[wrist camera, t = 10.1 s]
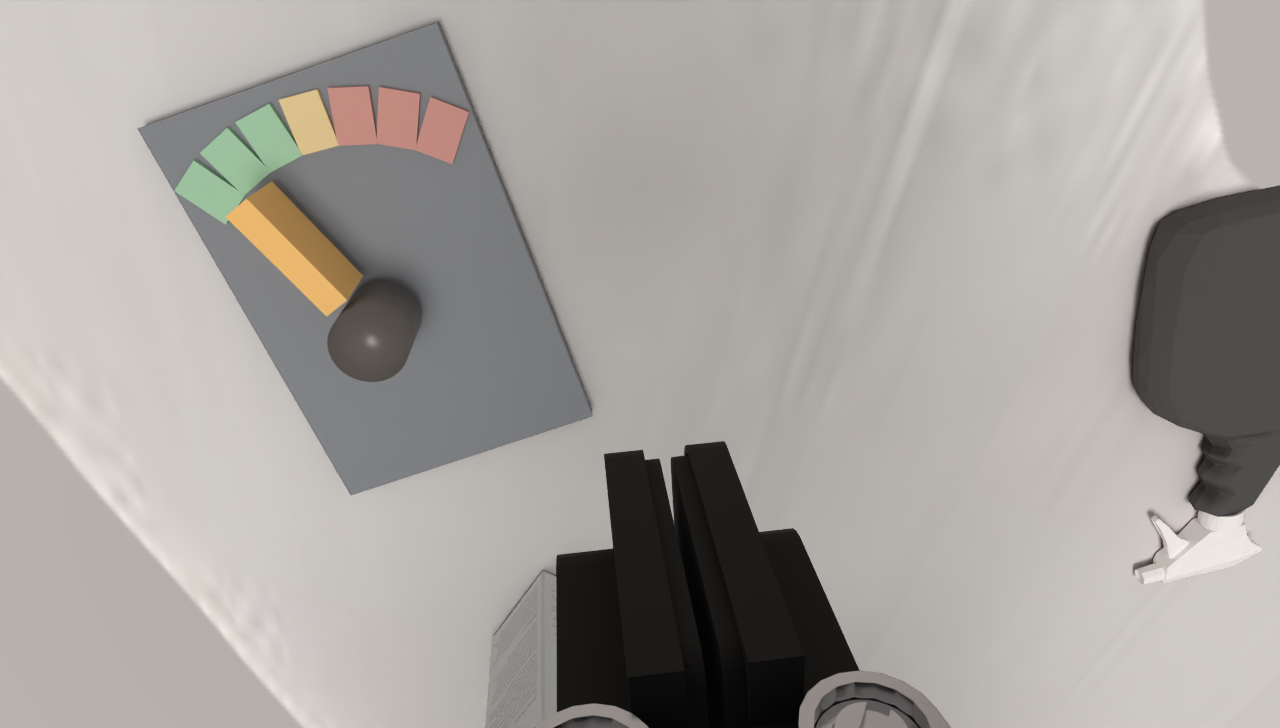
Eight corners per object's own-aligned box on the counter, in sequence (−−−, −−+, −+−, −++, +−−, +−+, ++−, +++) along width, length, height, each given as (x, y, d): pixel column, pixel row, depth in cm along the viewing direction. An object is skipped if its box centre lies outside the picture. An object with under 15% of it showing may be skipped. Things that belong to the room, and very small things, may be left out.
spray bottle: (1337, 167, 42) (1265, 537, 53) (1131, 212, 42) (1102, 573, 53) (1390, 180, 39) (1303, 567, 50) (1170, 228, 39) (1131, 605, 50)
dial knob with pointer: (436, 319, 39) (425, 352, 35) (383, 360, 39) (367, 396, 36) (291, 165, 35) (262, 184, 32) (235, 212, 36) (201, 236, 32)
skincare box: (551, 661, 50) (550, 845, 40) (491, 636, 49) (473, 819, 38) (604, 594, 49) (618, 768, 38) (543, 566, 47) (540, 737, 37)
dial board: (591, 409, 43) (592, 421, 42) (353, 486, 44) (348, 501, 43) (438, 22, 35) (434, 23, 33) (145, 125, 35) (131, 130, 34)
